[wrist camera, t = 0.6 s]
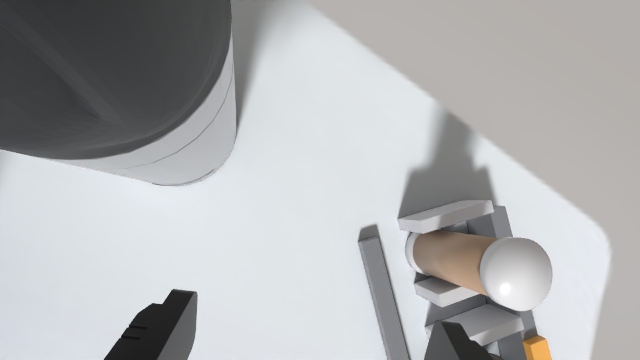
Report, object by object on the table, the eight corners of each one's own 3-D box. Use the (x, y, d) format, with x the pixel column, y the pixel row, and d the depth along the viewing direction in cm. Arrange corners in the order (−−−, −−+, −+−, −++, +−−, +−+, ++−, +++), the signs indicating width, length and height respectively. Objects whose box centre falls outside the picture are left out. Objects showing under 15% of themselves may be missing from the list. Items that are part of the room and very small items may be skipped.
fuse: (400, 233, 31) (483, 249, 21) (441, 220, 32) (542, 230, 21) (411, 280, 31) (501, 320, 21) (453, 266, 32) (559, 298, 21)
